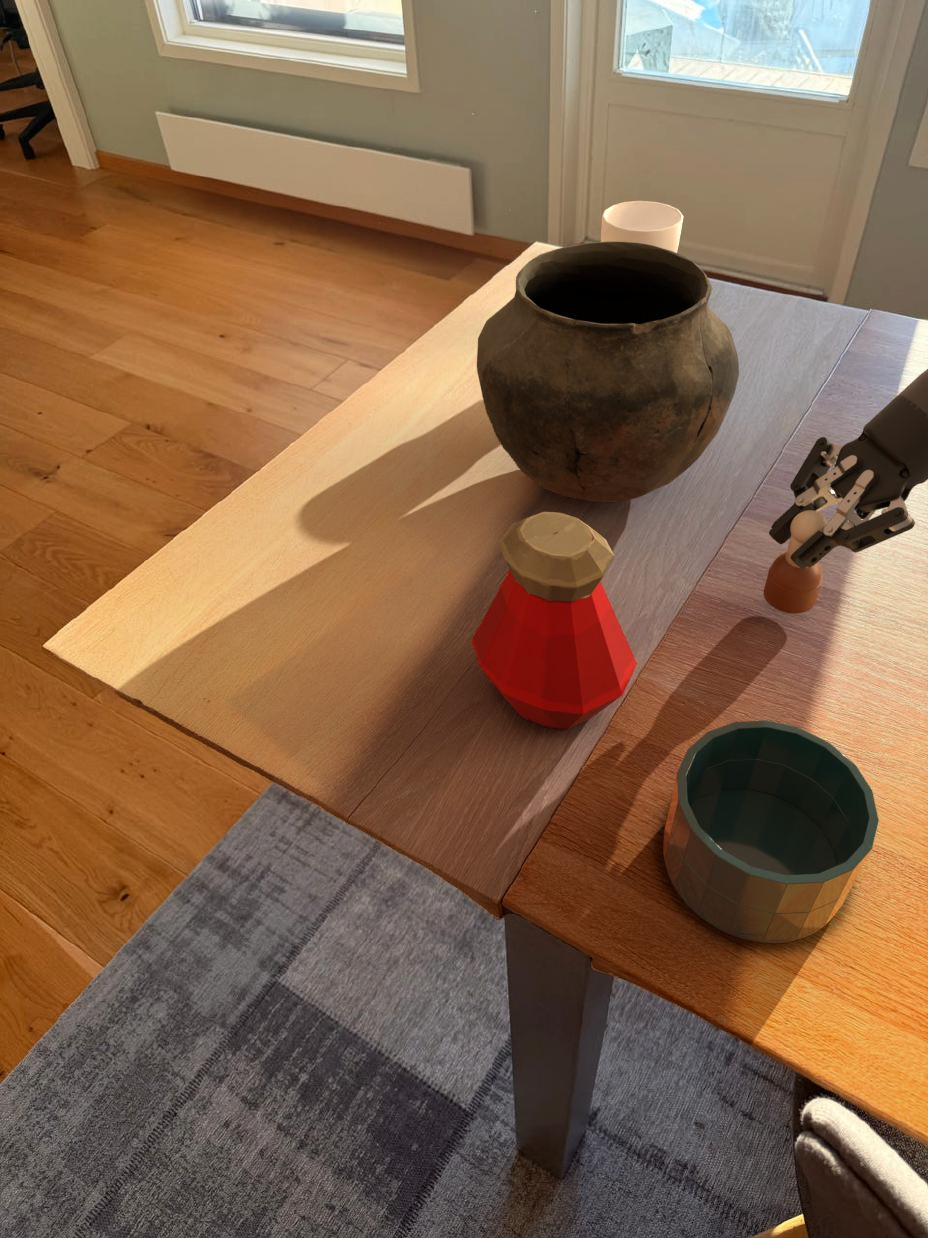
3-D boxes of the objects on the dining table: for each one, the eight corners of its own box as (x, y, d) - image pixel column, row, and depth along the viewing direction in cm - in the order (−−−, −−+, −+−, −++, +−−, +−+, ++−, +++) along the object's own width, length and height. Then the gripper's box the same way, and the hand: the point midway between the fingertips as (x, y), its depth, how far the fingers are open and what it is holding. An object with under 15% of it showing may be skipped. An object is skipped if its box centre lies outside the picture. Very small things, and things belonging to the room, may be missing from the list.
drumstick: (820, 588, 95) (846, 505, 87) (809, 619, 91) (835, 536, 84) (770, 574, 96) (792, 492, 89) (757, 604, 93) (778, 521, 86)
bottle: (659, 695, 87) (688, 532, 73) (571, 782, 80) (585, 621, 66) (533, 619, 95) (538, 459, 81) (443, 692, 88) (431, 531, 74)
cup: (633, 357, 133) (646, 238, 121) (578, 331, 140) (585, 215, 127) (683, 331, 138) (700, 214, 126) (627, 307, 145) (638, 194, 133)
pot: (513, 577, 99) (516, 372, 82) (459, 425, 122) (452, 238, 104) (763, 538, 103) (817, 333, 85) (666, 397, 125) (692, 212, 108)
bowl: (861, 824, 76) (893, 759, 70) (823, 977, 67) (856, 918, 61) (694, 762, 81) (710, 696, 75) (637, 896, 72) (650, 834, 66)
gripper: (867, 363, 85) (729, 494, 91) (970, 441, 75) (807, 582, 82) (899, 402, 90) (766, 525, 96) (999, 480, 80) (843, 611, 86)
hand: (785, 550), depth 89 cm, fingers closed on drumstick, 3 cm apart
